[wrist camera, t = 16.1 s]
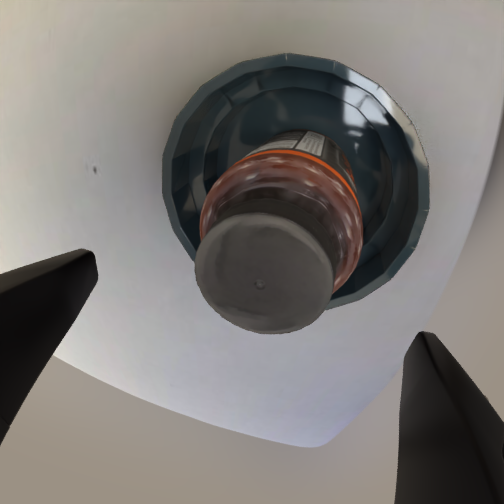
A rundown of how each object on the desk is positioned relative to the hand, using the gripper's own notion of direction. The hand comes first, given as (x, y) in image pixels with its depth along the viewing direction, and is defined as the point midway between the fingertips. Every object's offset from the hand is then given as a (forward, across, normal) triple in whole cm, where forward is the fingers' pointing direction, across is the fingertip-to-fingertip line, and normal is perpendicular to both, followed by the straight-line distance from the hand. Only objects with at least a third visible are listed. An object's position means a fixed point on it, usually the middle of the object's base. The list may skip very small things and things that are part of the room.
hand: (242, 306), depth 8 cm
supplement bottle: (+13, 0, 0) cm, 13 cm away
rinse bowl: (+13, 0, 0) cm, 13 cm away
